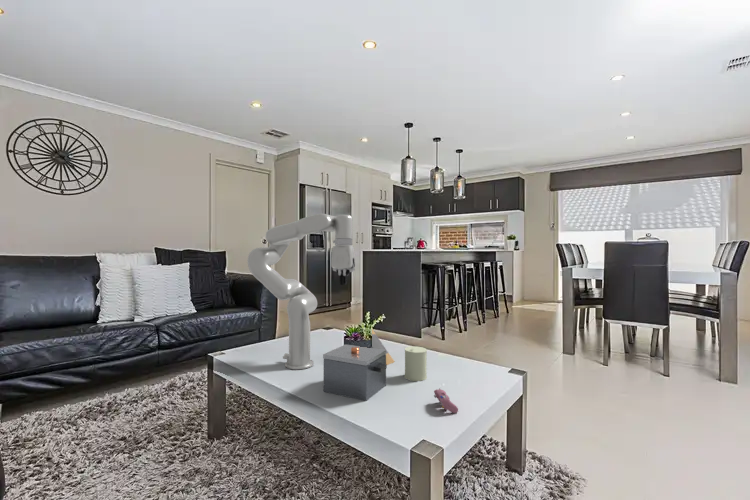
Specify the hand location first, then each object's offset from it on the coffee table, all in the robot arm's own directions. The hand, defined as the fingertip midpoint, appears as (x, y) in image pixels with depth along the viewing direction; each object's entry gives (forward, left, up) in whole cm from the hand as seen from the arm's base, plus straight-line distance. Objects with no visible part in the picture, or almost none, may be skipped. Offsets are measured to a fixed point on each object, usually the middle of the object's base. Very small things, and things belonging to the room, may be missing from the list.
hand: (343, 284), depth 159 cm
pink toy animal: (+51, -17, -37) cm, 65 cm away
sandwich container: (+8, +18, -38) cm, 42 cm away
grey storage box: (+17, -17, -37) cm, 44 cm away
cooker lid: (+16, -17, -25) cm, 34 cm away
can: (+32, +5, -37) cm, 49 cm away
